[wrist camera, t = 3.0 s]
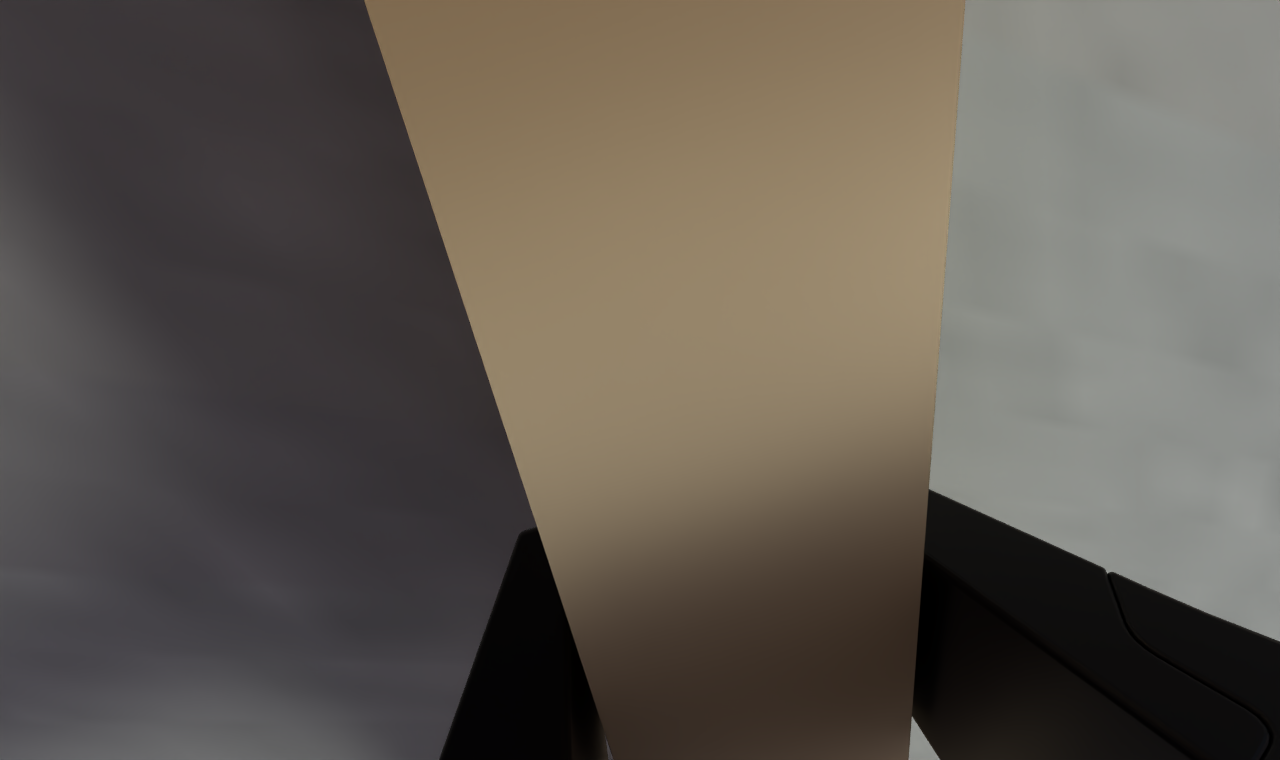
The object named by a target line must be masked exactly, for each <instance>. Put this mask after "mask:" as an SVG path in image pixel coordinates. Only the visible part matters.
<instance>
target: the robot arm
mask: <svg viewBox="0 0 1280 760" xmlns="http://www.w3.org/2000/svg"><path fill="white" fill-rule="evenodd" d="M912 717H913V718H914V720H915V721H916V723H917V724H918V726H919V728H920V729H921V731H922V732H923V734H924V735H925V737H926V738H927V740H928V741H929V743H930V745H931V746H932V748H933V749H934V751H935V752H936V754H937V755H938V757H939V759H940V760H1280V641H1277V640H1274V639H1272V638H1269V637H1267V636H1264V635H1262V634H1259V633H1257V632H1254V631H1251V630H1249V629H1246V628H1244V627H1241V626H1239V625H1236V624H1234V623H1231V622H1229V621H1226V620H1223V619H1221V618H1218V617H1216V616H1213V615H1211V614H1208V613H1206V612H1204V611H1201V610H1199V609H1197V608H1194V607H1192V606H1190V605H1187V604H1185V603H1183V602H1180V601H1178V600H1176V599H1173V598H1171V597H1169V596H1166V595H1164V594H1162V593H1159V592H1157V591H1155V590H1152V589H1150V588H1148V587H1146V586H1143V585H1141V584H1139V583H1137V582H1134V581H1132V580H1130V579H1128V578H1126V577H1123V576H1121V575H1119V574H1117V573H1114V572H1110V573H1108V574H1107V572H1106V570H1105V569H1104V568H1103V567H1101V566H1098V565H1096V564H1094V563H1092V562H1089V561H1087V560H1085V559H1083V558H1081V557H1078V556H1076V555H1074V554H1072V553H1070V552H1067V551H1065V550H1063V549H1061V548H1058V547H1056V546H1054V545H1052V544H1050V543H1047V542H1045V541H1043V540H1041V539H1038V538H1036V537H1034V536H1032V535H1030V534H1027V533H1025V532H1023V531H1021V530H1018V529H1016V528H1014V527H1012V526H1010V525H1007V524H1005V523H1003V522H1001V521H999V520H996V519H994V518H992V517H990V516H987V515H985V514H983V513H981V512H979V511H976V510H974V509H972V508H970V507H967V506H965V505H963V504H961V503H959V502H956V501H954V500H952V499H950V498H947V497H945V496H943V495H941V494H939V493H936V492H934V491H932V490H930V489H929V491H928V505H927V518H926V531H925V545H924V558H923V571H922V585H921V598H920V611H919V625H918V638H917V651H916V665H915V678H914V691H913V705H912ZM439 760H608V754H607V746H606V738H605V732H604V729H603V726H602V723H601V720H600V717H599V714H598V711H597V708H596V705H595V702H594V698H593V695H592V692H591V689H590V686H589V683H588V680H587V677H586V674H585V671H584V668H583V665H582V662H581V659H580V656H579V653H578V650H577V647H576V644H575V641H574V638H573V635H572V632H571V628H570V625H569V622H568V619H567V616H566V613H565V610H564V607H563V604H562V601H561V598H560V595H559V592H558V589H557V586H556V583H555V580H554V577H553V574H552V571H551V568H550V565H549V562H548V558H547V555H546V552H545V549H544V546H543V543H542V540H541V537H540V534H539V531H538V528H537V527H535V528H531V529H528V530H525V531H523V532H521V533H520V534H519V536H518V539H517V541H516V544H515V547H514V550H513V553H512V555H511V558H510V561H509V564H508V567H507V569H506V572H505V575H504V578H503V581H502V584H501V586H500V589H499V592H498V595H497V598H496V600H495V603H494V606H493V609H492V612H491V615H490V617H489V620H488V623H487V626H486V629H485V632H484V634H483V637H482V640H481V643H480V646H479V648H478V651H477V654H476V657H475V660H474V663H473V665H472V668H471V671H470V674H469V677H468V679H467V682H466V685H465V688H464V691H463V694H462V696H461V699H460V702H459V705H458V708H457V711H456V713H455V716H454V719H453V722H452V725H451V727H450V730H449V733H448V736H447V739H446V742H445V744H444V747H443V750H442V753H441V756H440V758H439Z"/></svg>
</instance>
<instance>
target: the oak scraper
mask: <svg viewBox="0 0 1280 760" xmlns="http://www.w3.org/2000/svg"><path fill="white" fill-rule="evenodd" d="M364 2H365V5H366V8H367V11H368V14H369V17H370V20H371V23H372V26H373V29H374V32H375V35H376V38H377V41H378V44H379V47H380V50H381V53H382V56H383V59H384V62H385V66H386V69H387V72H388V75H389V78H390V81H391V84H392V87H393V90H394V93H395V96H396V99H397V102H398V105H399V108H400V111H401V114H402V117H403V120H404V123H405V126H406V129H407V132H408V136H409V139H410V142H411V145H412V148H413V151H414V154H415V157H416V160H417V163H418V166H419V169H420V172H421V175H422V178H423V181H424V184H425V187H426V190H427V193H428V196H429V199H430V202H431V205H432V209H433V212H434V215H435V218H436V221H437V224H438V227H439V230H440V233H441V236H442V239H443V242H444V245H445V248H446V251H447V254H448V257H449V260H450V263H451V266H452V269H453V272H454V275H455V279H456V282H457V285H458V288H459V291H460V294H461V297H462V300H463V303H464V306H465V309H466V312H467V315H468V318H469V321H470V324H471V327H472V330H473V333H474V336H475V339H476V342H477V345H478V349H479V352H480V355H481V358H482V361H483V364H484V367H485V370H486V373H487V376H488V379H489V382H490V385H491V388H492V391H493V394H494V397H495V400H496V403H497V406H498V409H499V412H500V415H501V419H502V422H503V425H504V428H505V431H506V434H507V437H508V440H509V443H510V446H511V449H512V452H513V455H514V458H515V461H516V464H517V467H518V470H519V473H520V476H521V479H522V482H523V485H524V488H525V492H526V495H527V498H528V501H529V504H530V507H531V510H532V513H533V516H534V519H535V522H536V525H537V528H538V531H539V534H540V537H541V540H542V543H543V546H544V549H545V552H546V555H547V558H548V562H549V565H550V568H551V571H552V574H553V577H554V580H555V583H556V586H557V589H558V592H559V595H560V598H561V601H562V604H563V607H564V610H565V613H566V616H567V619H568V622H569V625H570V628H571V632H572V635H573V638H574V641H575V644H576V647H577V650H578V653H579V656H580V659H581V662H582V665H583V668H584V671H585V674H586V677H587V680H588V683H589V686H590V689H591V692H592V695H593V698H594V702H595V705H596V708H597V711H598V714H599V717H600V720H601V723H602V726H603V729H604V732H605V735H606V738H607V741H608V744H609V747H610V750H611V753H612V756H613V759H614V760H908V758H909V745H910V731H911V718H912V705H913V691H914V678H915V665H916V651H917V638H918V625H919V611H920V598H921V585H922V571H923V558H924V545H925V531H926V518H927V505H928V491H929V478H930V465H931V451H932V438H933V425H934V411H935V398H936V385H937V371H938V358H939V345H940V331H941V318H942V305H943V291H944V278H945V265H946V251H947V238H948V225H949V211H950V198H951V185H952V171H953V158H954V145H955V131H956V118H957V105H958V91H959V78H960V65H961V51H962V38H963V25H964V11H965V0H364Z"/></svg>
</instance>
